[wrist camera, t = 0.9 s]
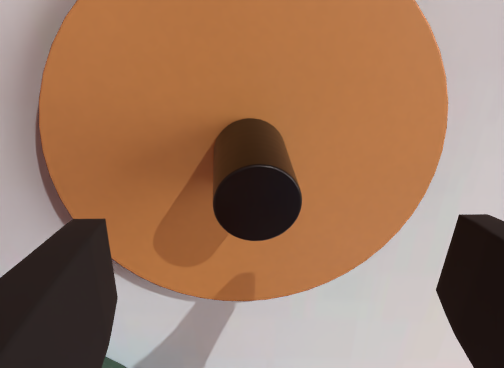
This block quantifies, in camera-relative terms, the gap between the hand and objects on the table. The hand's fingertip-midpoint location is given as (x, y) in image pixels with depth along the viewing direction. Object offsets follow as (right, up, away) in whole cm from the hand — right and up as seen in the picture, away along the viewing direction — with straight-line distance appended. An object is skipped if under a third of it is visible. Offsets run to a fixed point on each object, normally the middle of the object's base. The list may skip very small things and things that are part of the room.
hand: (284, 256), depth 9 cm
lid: (-1, +3, +6) cm, 7 cm away
